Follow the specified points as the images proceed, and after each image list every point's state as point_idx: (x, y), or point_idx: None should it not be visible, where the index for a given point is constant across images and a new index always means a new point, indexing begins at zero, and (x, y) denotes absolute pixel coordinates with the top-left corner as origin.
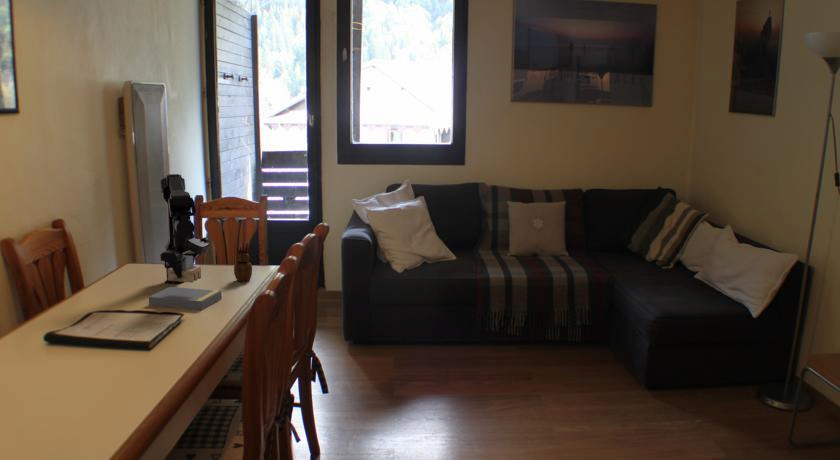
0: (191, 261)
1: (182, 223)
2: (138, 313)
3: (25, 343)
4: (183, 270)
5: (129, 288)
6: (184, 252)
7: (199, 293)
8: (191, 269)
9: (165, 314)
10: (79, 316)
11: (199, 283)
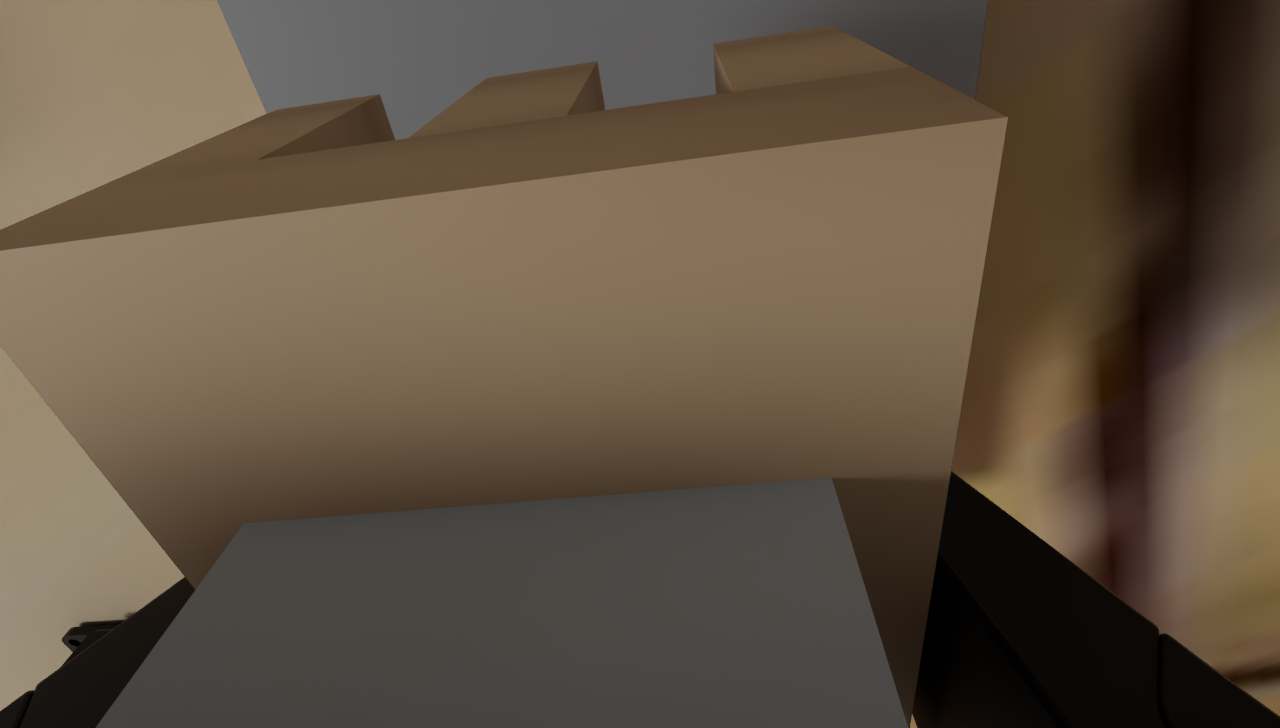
0: None
1: None
2: (1190, 410)
3: None
4: (925, 541)
5: None
6: None
7: (503, 41)
8: (638, 356)
9: (1254, 90)
10: (1264, 701)
11: (39, 504)
